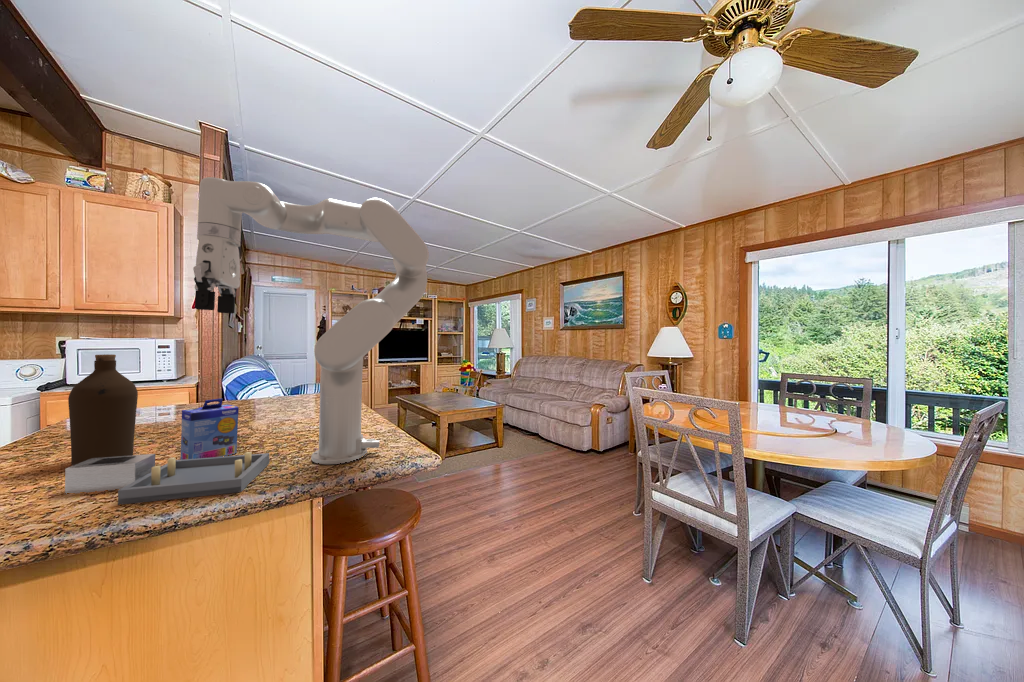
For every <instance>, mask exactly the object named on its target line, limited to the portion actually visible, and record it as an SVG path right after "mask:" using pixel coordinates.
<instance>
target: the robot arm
mask: <svg viewBox="0 0 1024 682" xmlns="http://www.w3.org/2000/svg"><path fill="white" fill-rule="evenodd" d="M198 192H199V193H198V210H197V211H198V212H197V229H196V230H197V231H196V233H197V234H196V240H197V241H198V244H197V245H198V246H197V251H196V258H195V259H196V260H195V265H194V266H193V268H192V269H193V274H194V277H193V281H194V283H195V284H194V290H195V293H194V294H195V297H194V309H195V310H198V311H199V310H200V311H202V310H203V311H214V310H215V307H216V306H215V304H216V291H214V289H215V288H217V289H218V293H219V295H218V296H217V308H216V309H217V313H219V314H231V315H232V314H235V310H236V309H235V306H236V296H237V294H236V292H237V290H238V289H239V288H240V286H241V261H240V250H239V248H240V247H241V239H242V238H241V236H242V234H241V233H242V218H243V217H242V215H243V214H246V215H248V216H249V217H251V218H252V219H253V220H254V221H255V222H256V223H258V225H261V226H262V227H265V228H266V229H267V228H268V229H271V230H276V231H281V232H282V231H283V232H288V233H294V234H303V235H333V236H338V237H345V238H349V239H357V240H361V241H362V240H363V241H369V242H374V243H380V244H381V246H382V247H383V248H384V249H385V250H386V252H387V253H388V254H389V255H390V256H391V257H392V263H393V267H394V269H395V272H396V274H395V278H394V279H393V280H392V281H390V283H389V284H387V285H386V286H385V287H384V288H383V289H382V290H381V291H380V292H379V293H377V295H376V296H374V297H372V298H367V299H364V300H362V301H360V302H358V303H357V304H356V305H355V306H354V307H352V308H351V309H350V310H349V311H348V312H347V313H346V314H345V315H343V316H342V317H341V318H340V319H338V321H336V322H335V323H334V324H333V325H332V326H331V327H330V328H329V329H327V330H326V332H324V333H323V334H322V335H321V336H320V337H319V338H318V340H317V341H316V342H315V346H314V351H313V352H314V353H313V354H314V357H315V360H316V362H317V363H318V365H320V368H321V369H320V370H321V371H320V379H319V381H320V383H319V386H320V387H319V415H318V416H319V418H318V420H319V421H318V422H319V424H318V449H317V450H316V451H314V452H313V453H312V454H311V461H312V462H313V463H316V464H318V463H319V465H337V464H338V465H339V464H340V463H341V464H346V463H345V462H347V463H351V462H350V461H352V462H354V461H353V460H355V461H357V460H356V459H358V460H360V459H359V458H361V457H362V456H364V455H365V454H366V453H367V454H368V448H369V449H370V448H371V449H372V448H374V449H376V448H380V439H376V438H369V439H368V438H367V439H366V438H364V434H363V433H362V403H363V402H362V399H363V398H362V397H363V395H362V394H363V372H364V371H363V368H364V357H365V356H366V355H367V354H368V353H369V352H370V351H372V350H373V348H374V347H376V345H377V344H379V343H380V342H381V341H382V340H383V339H384V338H385V337H386V336H387V335H388V334H389V333H390V332H391V331H392V330H393V328H394V327H395V326H396V324H397V323H398V322H399V321H400V320H401V319H403V317H405V316H406V315H407V314H408V312H410V310H412V308H413V307H415V306H416V305H417V303H418V302H419V301H420V300H421V299H422V297H423V296H424V295H425V291H426V288H427V286H428V285H427V284H428V273H427V267H426V266H427V264H428V263H429V262H428V261H429V257H430V254H429V249H428V246H427V244H426V242H425V241H424V240H423V239H422V237H421V236H420V235H419V234H418V233H417V232H416V230H415V229H414V228H413V227H412V226H411V225H410V224H409V223H408V221H407V220H406V219H405V218H404V216H402V214H401V213H400V212H399V211H398V210H397V209H396V208H395V207H394V205H392V204H391V203H390V202H389V201H386V200H385V199H382V198H380V197H379V198H378V197H372V198H368V199H366V200H365V201H363V202H362V204H358V203H353V202H349V201H344V200H338V199H335V198H325V199H323V200H322V201H320V202H318V203H316V204H311V205H303V204H296V203H290V202H286V201H281V200H280V199H279V197H278V196H277V195H276V194H275V193H274V191H273V190H272V189H271V187H269V186H268V185H266V184H263V183H261V182H258V181H248V180H247V181H240V180H238V181H237V180H236V181H234V180H227V179H223V178H219V177H209V176H208V177H203V178H202V179H201V180H200V182H199V191H198ZM367 454H366V455H367ZM366 455H365V456H366ZM365 456H364V457H365ZM361 459H362V458H361Z"/></svg>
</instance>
